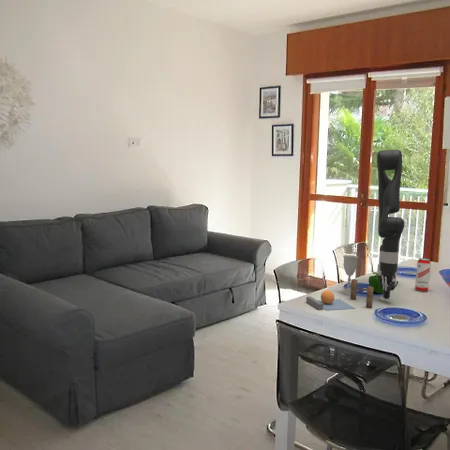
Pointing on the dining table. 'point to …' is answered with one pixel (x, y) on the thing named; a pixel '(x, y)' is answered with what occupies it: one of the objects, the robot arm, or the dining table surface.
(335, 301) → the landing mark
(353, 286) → the post
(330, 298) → the ball
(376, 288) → the bell pepper
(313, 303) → the wall
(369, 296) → the post
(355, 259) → the chalice
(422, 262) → the beer can
